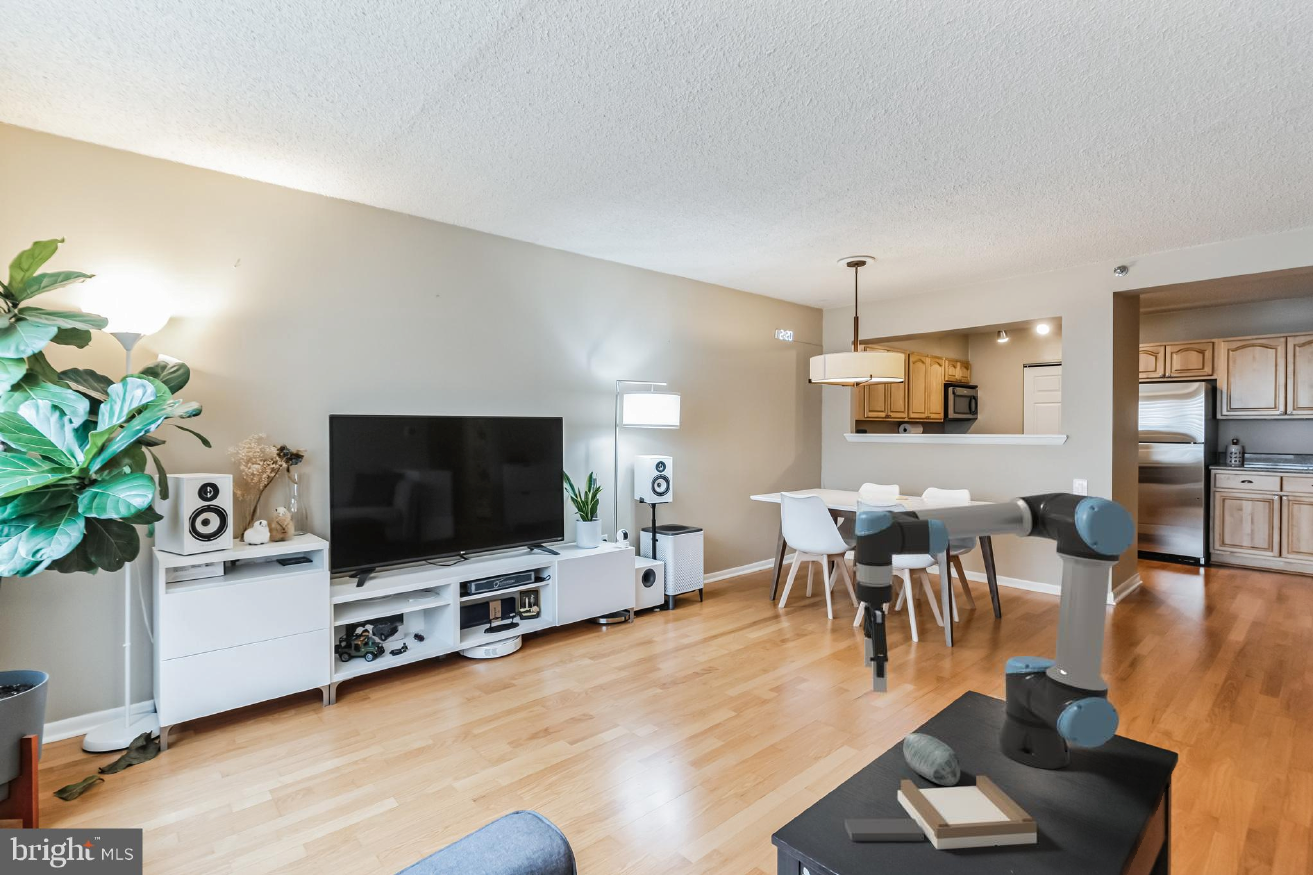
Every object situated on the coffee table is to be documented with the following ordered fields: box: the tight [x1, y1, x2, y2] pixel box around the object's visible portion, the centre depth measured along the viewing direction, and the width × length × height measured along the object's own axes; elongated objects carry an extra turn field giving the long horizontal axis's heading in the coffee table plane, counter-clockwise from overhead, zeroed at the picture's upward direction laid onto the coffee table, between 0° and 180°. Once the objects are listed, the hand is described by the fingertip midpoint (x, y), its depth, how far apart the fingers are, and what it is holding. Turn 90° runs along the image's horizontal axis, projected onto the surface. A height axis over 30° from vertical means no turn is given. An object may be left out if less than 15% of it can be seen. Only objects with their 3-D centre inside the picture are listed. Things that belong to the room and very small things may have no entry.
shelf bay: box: [897, 775, 1038, 850], centre depth 127 cm, size 20×16×4 cm
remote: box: [844, 818, 925, 842], centre depth 123 cm, size 4×14×2 cm, turn 90°
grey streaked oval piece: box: [902, 732, 961, 787], centre depth 144 cm, size 14×10×10 cm
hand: (875, 678), depth 137 cm, fingers open, 13 cm apart
